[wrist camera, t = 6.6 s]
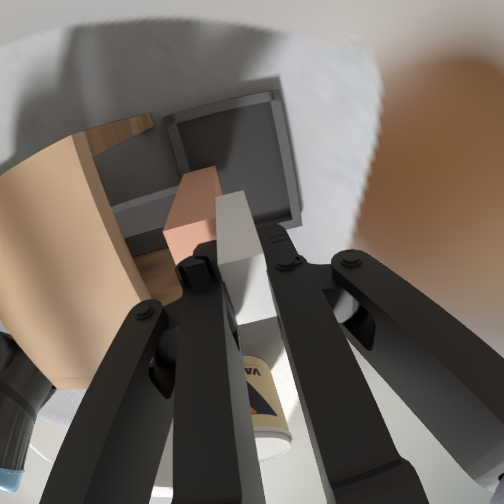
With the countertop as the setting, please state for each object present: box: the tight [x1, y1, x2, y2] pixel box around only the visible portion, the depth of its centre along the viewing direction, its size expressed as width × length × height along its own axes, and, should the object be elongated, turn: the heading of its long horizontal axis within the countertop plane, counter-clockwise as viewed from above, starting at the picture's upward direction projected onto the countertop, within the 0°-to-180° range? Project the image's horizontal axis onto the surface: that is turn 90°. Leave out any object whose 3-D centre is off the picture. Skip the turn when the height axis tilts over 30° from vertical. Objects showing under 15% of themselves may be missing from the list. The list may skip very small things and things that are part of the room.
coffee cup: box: [243, 356, 292, 462], centre depth 32 cm, size 9×9×12 cm
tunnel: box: [0, 113, 183, 389], centre depth 18 cm, size 10×13×14 cm
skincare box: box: [151, 420, 173, 497], centre depth 32 cm, size 8×7×16 cm
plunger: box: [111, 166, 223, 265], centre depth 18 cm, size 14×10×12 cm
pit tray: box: [164, 90, 302, 230], centre depth 23 cm, size 9×12×1 cm
